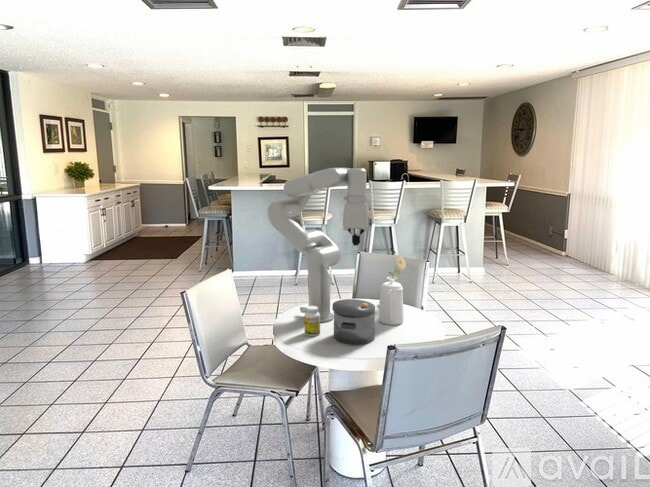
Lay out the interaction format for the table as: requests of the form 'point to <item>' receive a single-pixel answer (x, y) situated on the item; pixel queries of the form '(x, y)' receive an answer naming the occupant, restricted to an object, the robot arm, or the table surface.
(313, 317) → the pill bottle
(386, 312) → the coffeepot
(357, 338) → the cooker pot
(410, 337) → the table surface
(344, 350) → the table surface
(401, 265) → the flower in vase
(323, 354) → the table surface
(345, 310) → the cooker lid
